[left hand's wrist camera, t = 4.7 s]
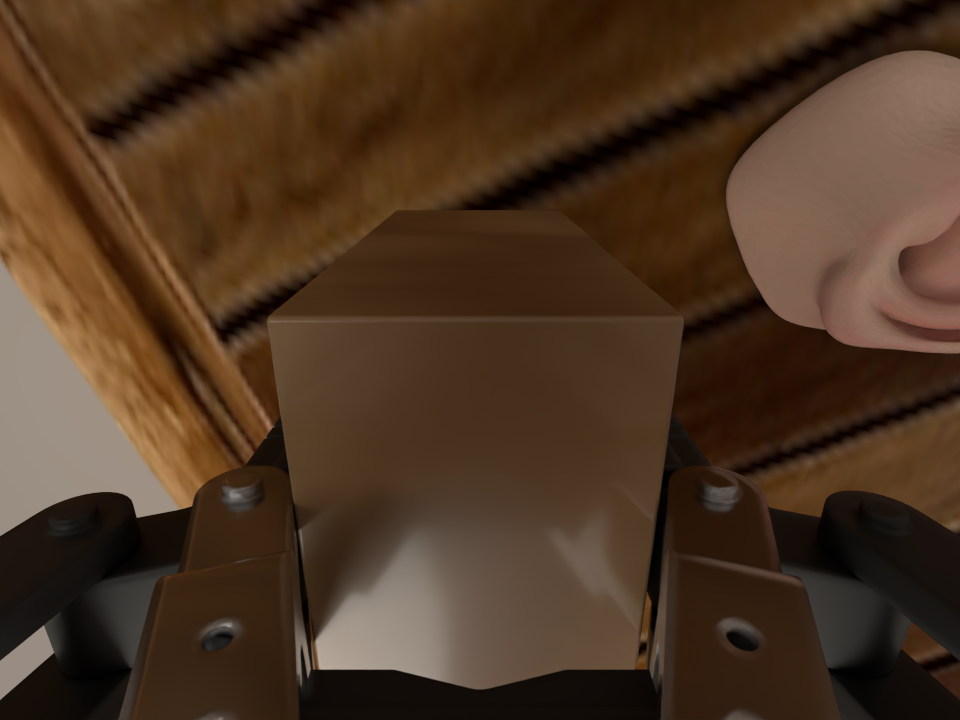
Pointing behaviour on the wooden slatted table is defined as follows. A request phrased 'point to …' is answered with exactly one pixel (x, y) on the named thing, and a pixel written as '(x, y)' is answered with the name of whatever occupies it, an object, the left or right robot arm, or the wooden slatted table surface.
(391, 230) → the brick
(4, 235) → the wooden slatted table surface
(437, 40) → the wooden slatted table surface
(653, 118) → the wooden slatted table surface
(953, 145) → the anatomical model
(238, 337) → the wooden slatted table surface
